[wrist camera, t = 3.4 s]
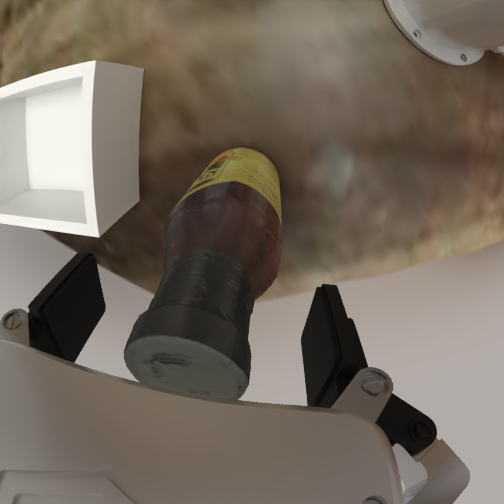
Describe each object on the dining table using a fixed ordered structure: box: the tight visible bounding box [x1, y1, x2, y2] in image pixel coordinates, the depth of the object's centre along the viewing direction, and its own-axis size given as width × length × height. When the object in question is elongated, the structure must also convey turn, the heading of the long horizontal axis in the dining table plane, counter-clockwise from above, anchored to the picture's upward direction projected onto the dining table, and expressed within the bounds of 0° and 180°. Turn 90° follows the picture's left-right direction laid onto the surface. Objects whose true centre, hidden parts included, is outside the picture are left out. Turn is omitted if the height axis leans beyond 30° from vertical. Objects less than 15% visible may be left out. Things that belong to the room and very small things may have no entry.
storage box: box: [0, 60, 144, 237], centre depth 19 cm, size 16×13×8 cm
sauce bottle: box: [124, 147, 282, 400], centre depth 16 cm, size 7×6×20 cm
